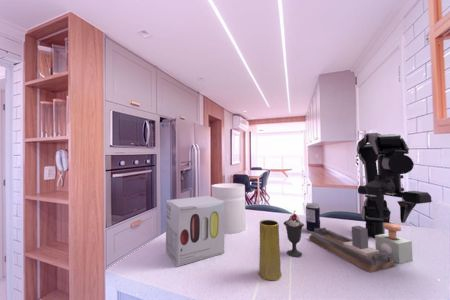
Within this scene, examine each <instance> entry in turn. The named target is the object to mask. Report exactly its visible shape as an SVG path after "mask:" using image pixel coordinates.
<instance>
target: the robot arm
mask: <svg viewBox="0 0 450 300" xmlns="http://www.w3.org/2000/svg"><path fill="white" fill-rule="evenodd" d="M357 142H358V143H357V145H356V154H357V155H358V159H359V160H360V161H361V162H362V164H363V166H364V167H363V168H364V169H363V170H364V177H365V185H364V184H363V185H359V186H358V187H357V194H358V195H359V194H360V195H364V197H365V200H364V201H363V205H362V208H361V213H360V215H361V218H362V220H363V221H365V228H367V231H368V237H372V238H374V239H375V235H381V234H386V232H385V230H386V229H385V228H384V226H383V224H384V223H390V221H391V210H390V208H389V206H388V203H387V200H386V199H385V196H388V197H395V198H401V200H397V201H396V203H397V204H398V205H399V213H400V214H399V219H400V223H402V224H404V223H406V221H407V219H408V217H409V216H410V214H411V212H412V211H413V209H414V208H415V207H416V206H417V205H419V204H428V203H429V204H431V203H432V196H431V194H430V193H429V192H427V191H418V190H407V191H405V187H402V180H401V179H404V174H405V175H406V174H408V173H410V172H411V171H412V170H413V169H414V165H415V164H414V161H413V159H412V158H411V157H410V156H408V155H409V151H410V148H409V147H408V146H409V145H408V144H407V143H406V141H405V139H404V138H403V137H402V136H401V134H399V133H391V134H389V133H388V134H380V133H378V132H371V133H369V132H368V133H365V134H363V137H362V138H361V139H360V140H359V141H357Z"/></svg>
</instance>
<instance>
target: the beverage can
mask: <svg viewBox="0 0 450 300" xmlns="http://www.w3.org/2000/svg"><path fill="white" fill-rule="evenodd" d="M320 209H321V208H320V206H319V204H318V203H314V202H308V203H306V205H305V224H306V227H305V228H306V231H308V232H309V233H311V232H315V231H314V229H317V228H321V210H320Z"/></svg>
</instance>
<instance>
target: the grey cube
mask: <svg viewBox="0 0 450 300" xmlns="http://www.w3.org/2000/svg"><path fill="white" fill-rule="evenodd" d="M374 241H375V242H374V243H375V249H376V250H378V251H380V252H382V253H387V254H388V255H390V256H392V261H394V263H396V264H400V265H401V264H406V263H409V262H413V261H414V259H413V258H414V257H413V244H412V242H413V241H412V240H409V239H406V238H403V237H400V236H397V240H395V241H394V240H391V239H389V234H388V233H387V232H386V233H385V234H381V235H375V238H374Z"/></svg>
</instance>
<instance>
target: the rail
mask: <svg viewBox="0 0 450 300" xmlns="http://www.w3.org/2000/svg"><path fill="white" fill-rule="evenodd" d="M314 231H315V232H310V235H309V241H311V242H313V243H315V244H317V245H318V246H320V247H321V248H324V249H326V250H327V251H329V252H331V253H333V254H335V255H337V256H338V257H341V258H342V259H343V260H346V261H348V262H350V263H351V264H353V265H355V266H357V267H358V268H360V269H363V271H366V272H367V273H373V272H376V271H377V272H378V271H381V270H386V269H389V268H394V267H395V262H394V261H392V256H390V255H388V254H387V253H382V252H380V251H379V254H374V255H372V259H370V258H368V257H366V256H364V255H362V254H360V253H358V252H355V251H353V250H351V249H349V248H347V247H345V246H343V243H344V242H350V241H352V238H349V237H347V236H344V235H341V234H340V233H336V232H335V231H333V230H330V229H327V227H320V228H317V229H314Z"/></svg>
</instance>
